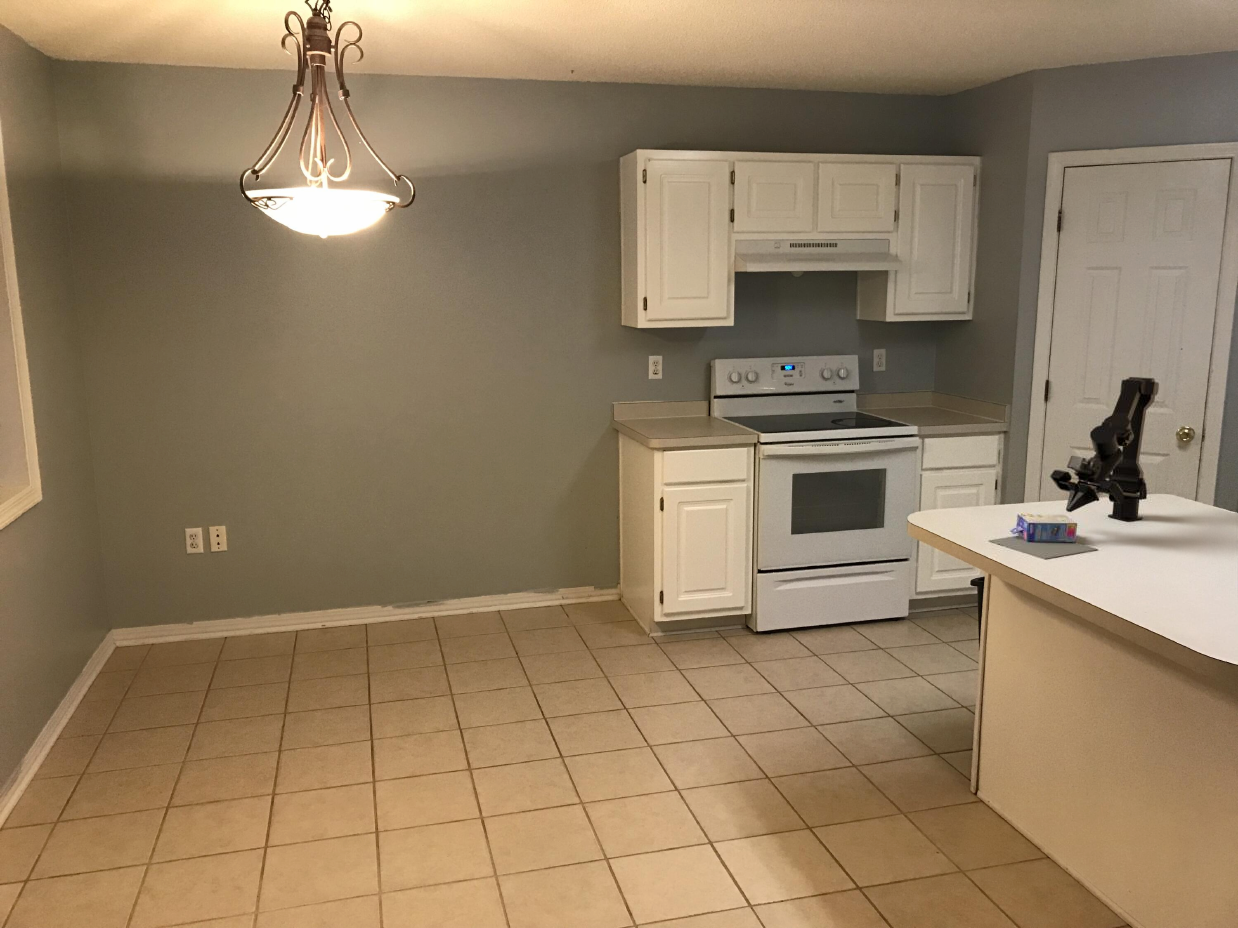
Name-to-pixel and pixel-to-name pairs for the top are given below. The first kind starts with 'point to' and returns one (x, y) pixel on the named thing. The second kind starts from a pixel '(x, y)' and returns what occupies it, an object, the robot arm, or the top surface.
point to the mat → (1043, 547)
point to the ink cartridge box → (1046, 528)
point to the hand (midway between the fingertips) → (1067, 510)
